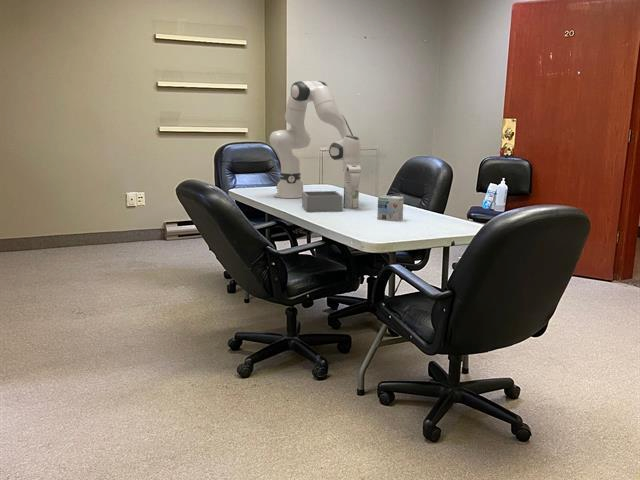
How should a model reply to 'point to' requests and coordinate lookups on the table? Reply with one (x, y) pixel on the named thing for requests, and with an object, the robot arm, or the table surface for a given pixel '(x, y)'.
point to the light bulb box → (390, 208)
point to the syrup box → (350, 196)
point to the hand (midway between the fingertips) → (351, 194)
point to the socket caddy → (322, 201)
